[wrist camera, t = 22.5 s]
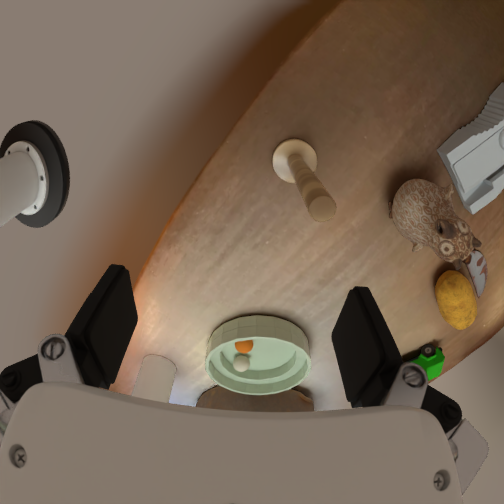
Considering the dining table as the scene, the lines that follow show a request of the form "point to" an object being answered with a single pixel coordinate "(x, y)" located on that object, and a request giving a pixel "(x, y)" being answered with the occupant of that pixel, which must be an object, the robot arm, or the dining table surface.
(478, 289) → the kitchen knife
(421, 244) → the figurine
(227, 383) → the bowl
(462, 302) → the potato
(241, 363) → the cream ball
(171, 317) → the dining table surface
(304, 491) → the robot arm
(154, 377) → the cylindrical container
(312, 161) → the wooden peg stand
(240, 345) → the orange ball
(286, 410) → the container
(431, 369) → the toy car
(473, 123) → the wedge sharpener
